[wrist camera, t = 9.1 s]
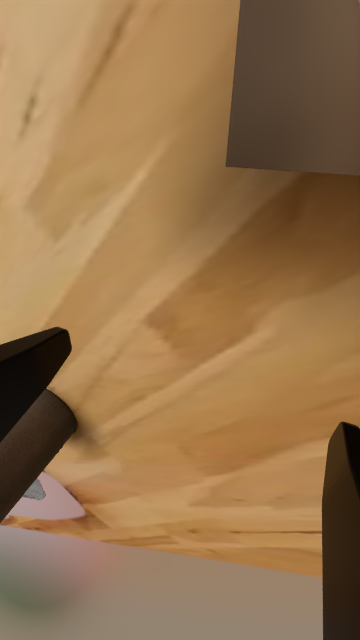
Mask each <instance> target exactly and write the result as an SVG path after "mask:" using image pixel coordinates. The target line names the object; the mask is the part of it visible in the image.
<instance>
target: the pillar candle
mask: <svg viewBox="0 0 360 640" xmlns="http://www.w3.org/2000/svg"><path fill="white" fill-rule="evenodd" d="M76 429H77V422H76V419H75V417H74V415H73V414H72V412H71V411H70V410H69V408H68V407H67V406H66V405H65V404H64V403H63V402H62V401H61V400H60V399H59V398H58V397H57V396H56V395H54V394H53V393H52V392H50V391H48V390H46V389H45V390H44V392H43V393H42V394H41V395H40V396H39V398H38V399H37V400H36V401H35V402H34V404H33V405H32V406H31V407H30V408H29V409H28V411H27V412H26V413H25V414H24V415H23V417H22V418H21V419H20V420H19V421H18V423H17V424H16V425H15V426H14V427H13V429H12V430H11V431H10V432H9V433H8V434H7V436H6V437H5V438H4V439H3V440H2V442H1V443H0V523H1V522H2V520H3V519H4V518H5V517H6V515H7V514H8V513H9V512H10V510H11V509H12V508H13V507H14V505H15V504H16V503H17V502H18V501H19V500H20V498H21V497H22V496H23V495H24V494H25V492H26V491H27V490H28V489H29V487H30V486H31V485H32V484H33V483H34V481H35V480H36V479H37V477H38V476H39V475H40V473H41V472H42V471H43V470H44V468H45V467H46V466H47V465H48V464H49V462H50V461H51V460H52V459H53V458H54V456H55V455H56V454H57V453H58V452H59V450H60V449H61V448H62V447H63V445H64V444H65V442H66V441H67V440H68V439H69V438H70V436H71V435H72V433H73V432H75V431H76Z"/></svg>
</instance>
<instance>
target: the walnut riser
mask: <svg viewBox="0 0 360 640" xmlns="http://www.w3.org/2000/svg"><path fill="white" fill-rule="evenodd" d="M226 167H240V168H255V169H269V170H284V171H298V172H313V173H327V174H342V175H356V176H360V0H241V1H240V12H239V24H238V35H237V46H236V57H235V68H234V80H233V91H232V102H231V113H230V124H229V136H228V147H227V158H226Z"/></svg>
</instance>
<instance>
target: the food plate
mask: <svg viewBox="0 0 360 640" xmlns="http://www.w3.org/2000/svg"><path fill="white" fill-rule="evenodd" d="M23 496H24V497H27V498H28V497H29V498H31V499H32V498H33V499H37V500H41V499H43V498H44V497H45V496H46V494H45V492H44V491H43V488H42V486H41V484H40V483H39V481H38V480H37V479H36V480H35V481H34V483H33V484H32V485H31V486H30V487H29V489H28V490H27V491H26V492H25V494H24V495H23Z"/></svg>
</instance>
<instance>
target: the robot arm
mask: <svg viewBox="0 0 360 640" xmlns="http://www.w3.org/2000/svg"><path fill="white" fill-rule="evenodd" d="M71 350H72V346H71V341H70V336H69V332H68V331H67V330H66V329H63V328H60V327H54V328H51V329H48V330H44V331H41V332H38V333H35V334H32V335H29V336H26V337H23V338H20V339H17V340H13V341H10V342H7V343H4V344H1V345H0V443H1V442H2V440H3V439H4V438H5V437H6V436H7V434H8V433H9V432H10V431H11V430H12V429H13V427H14V426H15V425H16V424H17V423H18V421H19V420H20V419H21V418H22V417H23V415H24V414H25V413H26V412H27V411H28V409H29V408H30V407H31V406H32V405H33V404H34V402H35V401H36V400H37V399H38V398H39V396H40V395H41V394H42V393H43V392H44V390H45V389H46V388H47V386H48V385H49V384H50V382H51V381H52V379H53V378H54V376H55V375H56V374H57V372H58V371H59V369H60V368H61V366H62V365H63V363H64V362H65V360H66V359H67V357H68V356H69V355H70V353H71ZM322 562H323V640H360V428H359V427H358V426H356V425H353V424H350V423H347V422H340V423H339V425H338V426H337V428H336V430H335V431H334V433H333V435H332V436H331V438H330V441H329V444H328V452H327V461H326V469H325V478H324V487H323V497H322Z"/></svg>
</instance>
